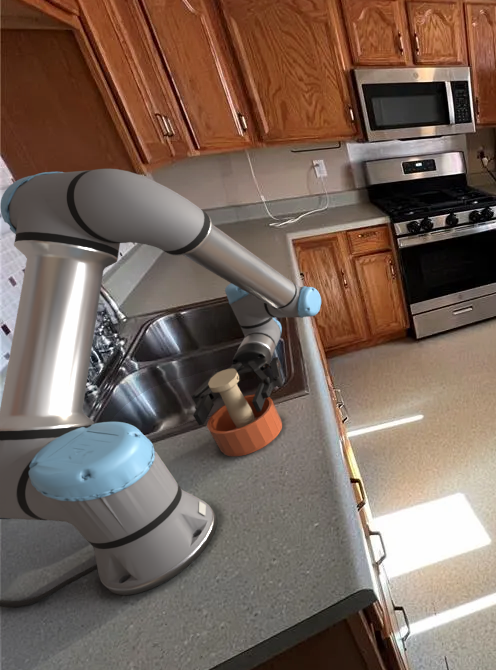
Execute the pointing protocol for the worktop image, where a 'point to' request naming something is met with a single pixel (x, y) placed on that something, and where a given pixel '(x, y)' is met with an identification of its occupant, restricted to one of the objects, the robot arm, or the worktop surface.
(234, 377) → the handle
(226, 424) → the crock
